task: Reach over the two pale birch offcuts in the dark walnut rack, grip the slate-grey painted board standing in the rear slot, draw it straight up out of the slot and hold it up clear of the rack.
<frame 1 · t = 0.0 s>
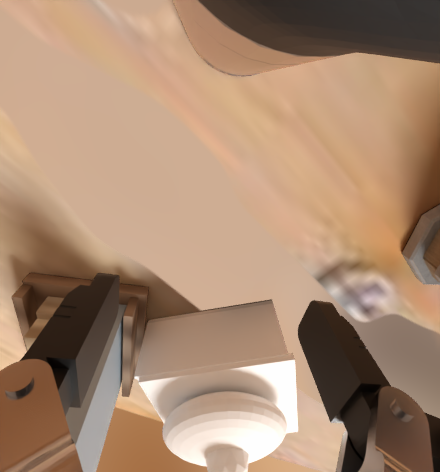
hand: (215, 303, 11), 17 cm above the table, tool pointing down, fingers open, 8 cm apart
grey board: (116, 340, 35), point 1 cm above the table, touching walnut rack
offcut upper: (61, 352, 32), point 4 cm above the table, touching offcut lower
offcut lower: (70, 335, 34), point 1 cm above the table, touching offcut upper, walnut rack
walnut rack: (94, 328, 36), on the table
butter dish: (222, 346, 40), on the table
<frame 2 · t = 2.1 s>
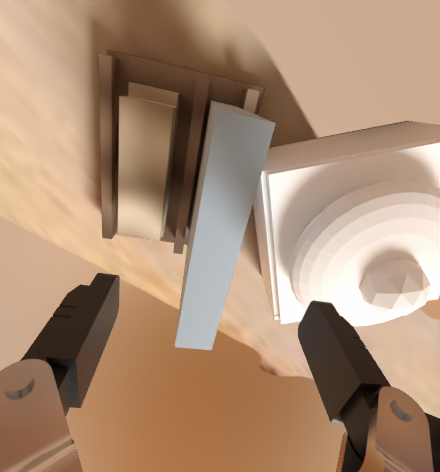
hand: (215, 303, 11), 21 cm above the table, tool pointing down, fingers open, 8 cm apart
grey board: (209, 175, 27), point 1 cm above the table, touching walnut rack
offcut upper: (148, 171, 24), point 4 cm above the table, touching offcut lower
offcut lower: (152, 164, 26), point 1 cm above the table, touching offcut upper, walnut rack
walnut rack: (178, 165, 28), on the table
butter dish: (324, 208, 32), on the table
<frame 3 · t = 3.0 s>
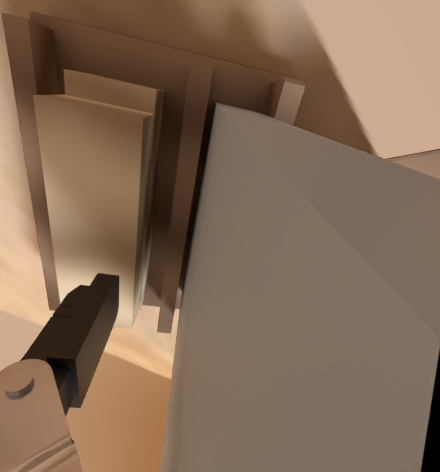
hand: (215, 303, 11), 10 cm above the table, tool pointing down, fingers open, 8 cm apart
grey board: (212, 217, 18), point 1 cm above the table, touching walnut rack
offcut upper: (111, 218, 15), point 4 cm above the table, touching offcut lower
offcut lower: (123, 202, 17), point 1 cm above the table, touching offcut upper, walnut rack
walnut rack: (164, 200, 19), on the table
butter dish: (375, 256, 22), on the table
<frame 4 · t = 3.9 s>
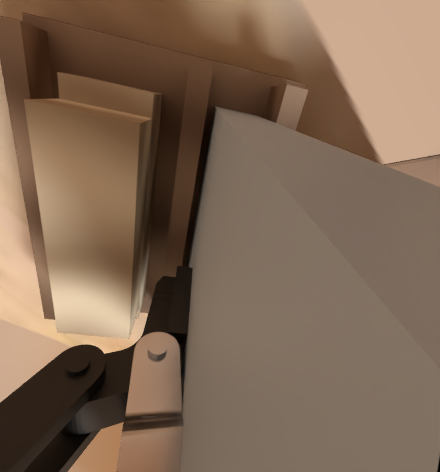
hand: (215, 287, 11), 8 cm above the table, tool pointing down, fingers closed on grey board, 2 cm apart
grey board: (212, 223, 17), point 1 cm above the table, touching gripper, walnut rack
offcut upper: (107, 226, 14), point 4 cm above the table, touching offcut lower
offcut lower: (120, 208, 16), point 1 cm above the table, touching offcut upper, walnut rack
walnut rack: (163, 206, 18), on the table
butter dish: (379, 262, 22), on the table
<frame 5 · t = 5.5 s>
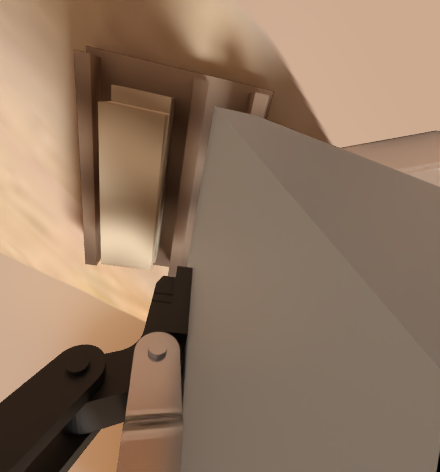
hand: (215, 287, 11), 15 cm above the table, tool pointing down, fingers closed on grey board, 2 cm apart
grey board: (212, 223, 17), point 9 cm above the table, touching gripper
offcut upper: (136, 189, 21), point 4 cm above the table, touching offcut lower
offcut lower: (143, 180, 23), point 1 cm above the table, touching offcut upper, walnut rack
walnut rack: (173, 180, 24), on the table
butter dish: (338, 227, 28), on the table
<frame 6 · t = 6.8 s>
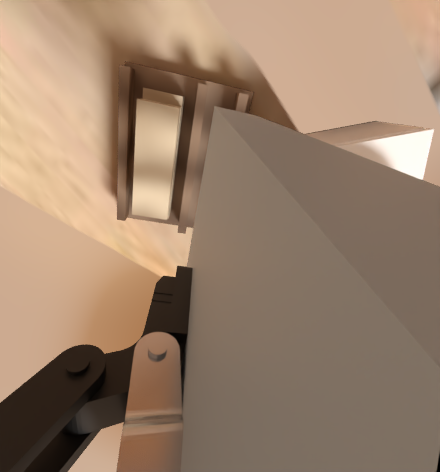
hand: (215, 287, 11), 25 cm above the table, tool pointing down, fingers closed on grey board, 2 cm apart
grey board: (212, 222, 17), point 18 cm above the table, touching gripper
offcut upper: (157, 161, 29), point 4 cm above the table, touching offcut lower
offcut lower: (160, 156, 31), point 1 cm above the table, touching offcut upper, walnut rack
walnut rack: (181, 158, 33), on the table
butter dish: (307, 196, 37), on the table
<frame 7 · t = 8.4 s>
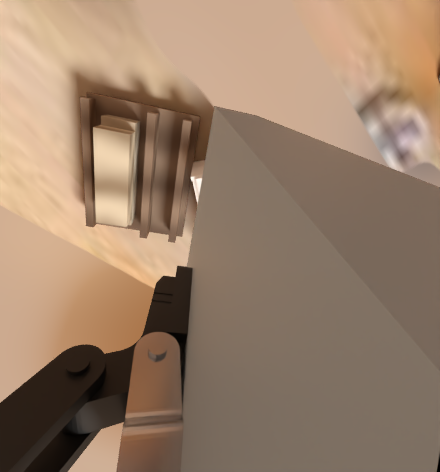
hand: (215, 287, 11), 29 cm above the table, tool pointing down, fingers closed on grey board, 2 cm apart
grey board: (212, 223, 17), point 22 cm above the table, touching gripper
offcut upper: (117, 176, 34), point 4 cm above the table, touching offcut lower
offcut lower: (123, 171, 36), point 1 cm above the table, touching offcut upper, walnut rack
walnut rack: (143, 172, 37), on the table
butter dish: (258, 205, 41), on the table, touching walnut rack
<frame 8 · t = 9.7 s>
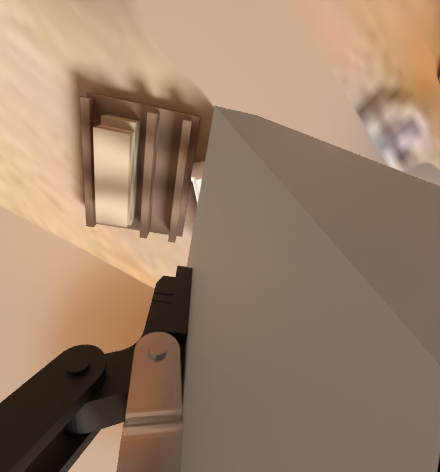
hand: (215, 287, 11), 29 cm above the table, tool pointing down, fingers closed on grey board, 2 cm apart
grey board: (212, 222, 17), point 22 cm above the table, touching gripper
offcut upper: (117, 176, 34), point 4 cm above the table, touching offcut lower
offcut lower: (123, 171, 36), point 1 cm above the table, touching offcut upper, walnut rack
walnut rack: (143, 172, 37), on the table
butter dish: (258, 206, 41), on the table
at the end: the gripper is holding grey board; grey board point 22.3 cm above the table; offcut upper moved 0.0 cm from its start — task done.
